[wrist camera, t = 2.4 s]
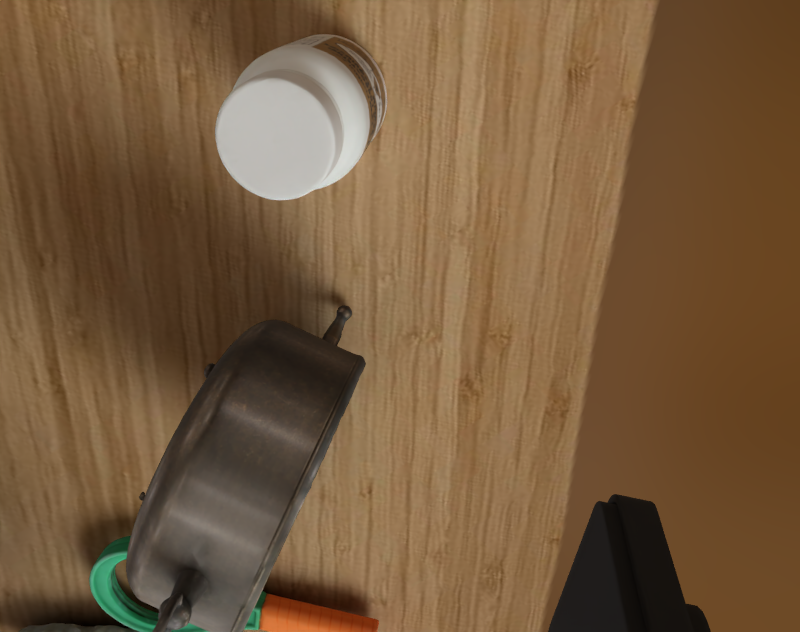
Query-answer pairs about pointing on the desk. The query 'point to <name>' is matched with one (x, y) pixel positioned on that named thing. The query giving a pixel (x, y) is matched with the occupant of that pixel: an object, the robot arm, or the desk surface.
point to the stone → (73, 628)
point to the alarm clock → (239, 474)
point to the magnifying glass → (285, 619)
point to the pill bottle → (301, 116)
